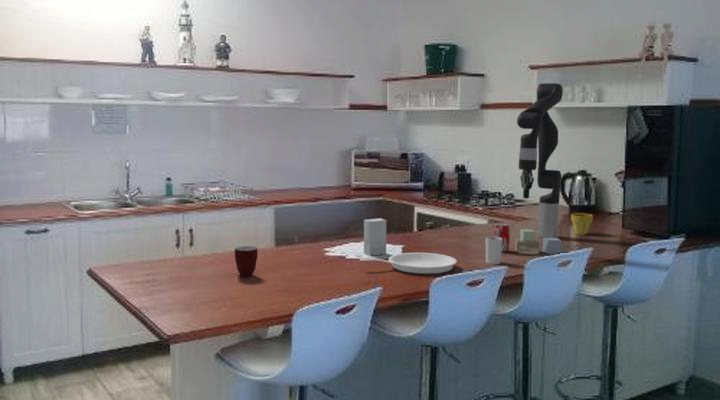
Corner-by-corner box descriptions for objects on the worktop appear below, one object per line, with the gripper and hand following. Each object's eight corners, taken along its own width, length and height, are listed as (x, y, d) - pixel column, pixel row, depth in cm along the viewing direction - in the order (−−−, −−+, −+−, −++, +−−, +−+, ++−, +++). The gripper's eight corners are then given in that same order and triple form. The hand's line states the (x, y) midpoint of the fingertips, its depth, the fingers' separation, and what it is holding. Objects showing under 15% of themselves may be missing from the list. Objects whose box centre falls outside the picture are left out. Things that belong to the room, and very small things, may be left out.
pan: (468, 274, 247) (468, 261, 246) (369, 280, 236) (370, 267, 235) (440, 259, 272) (440, 248, 271) (350, 264, 261) (350, 252, 260)
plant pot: (591, 236, 330) (592, 216, 328) (570, 234, 333) (571, 215, 332) (591, 232, 339) (593, 214, 338) (570, 231, 343) (571, 212, 342)
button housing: (515, 250, 292) (515, 239, 291) (533, 250, 292) (533, 239, 291) (520, 253, 284) (520, 242, 283) (538, 254, 284) (539, 242, 283)
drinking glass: (498, 265, 262) (499, 240, 260) (482, 262, 265) (483, 238, 264) (503, 262, 267) (504, 237, 266) (488, 260, 271) (489, 236, 269)
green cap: (519, 240, 290) (520, 229, 289) (531, 240, 290) (531, 229, 289) (523, 242, 285) (523, 231, 284) (534, 242, 285) (535, 231, 284)
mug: (226, 274, 240) (225, 247, 238) (243, 270, 246) (243, 244, 244) (244, 279, 233) (244, 251, 231) (262, 275, 239) (262, 248, 238)
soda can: (509, 253, 285) (510, 225, 284) (492, 252, 287) (493, 225, 285) (508, 249, 292) (509, 223, 291) (492, 249, 293) (493, 222, 292)
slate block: (542, 251, 291) (543, 237, 290) (556, 251, 291) (556, 237, 291) (547, 253, 285) (547, 240, 284) (560, 254, 285) (561, 240, 285)
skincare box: (380, 252, 283) (380, 217, 282) (386, 254, 278) (387, 220, 276) (362, 253, 280) (363, 218, 278) (369, 256, 274) (369, 221, 273)
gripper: (541, 159, 281) (539, 200, 283) (532, 158, 294) (530, 196, 296) (523, 159, 280) (521, 199, 282) (515, 157, 294) (513, 196, 296)
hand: (525, 198), depth 289 cm, fingers closed
